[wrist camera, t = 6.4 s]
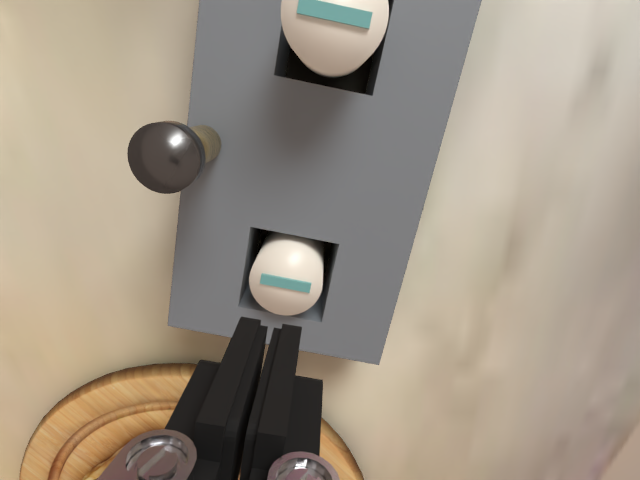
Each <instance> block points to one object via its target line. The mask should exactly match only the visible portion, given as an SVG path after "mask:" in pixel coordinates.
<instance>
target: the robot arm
mask: <svg viewBox="0 0 640 480" xmlns="http://www.w3.org/2000/svg"><path fill="white" fill-rule="evenodd" d="M267 329H268V326H262V325H261V320H259V319H253V318H247V317H240V320H239V322H238V324H237V327H236V329H235V331H234V334H233V336H232V338H231V341H230V343H229V345H228V348H227V350H226V352H225V355H224V357H223V359H222V362H221V363H218V362H212V361H206V360H200V361H199V363H198V364H197V366H196V368H195V370H194V372H193V374H192V376H191V378H190V380H189V382H188V384H187V386H186V388H185V390H184V392H183V394H182V396H181V397H180V399H179V401H178V403H177V405H176V407H175V409H174V411H173V413H172V415H171V417H170V419H169V421H168V423H167V425H166V427H165V429H161V430H152V431H149V432H145V433H142V434H140V435H139V436H137V437H135V438H133V439H132V440H131V441H129V442H128V443H127V444H126V445H125V446H124V447H123V448H122V449H121V451H120V452H119V453H118V454H117V455H116V457H115V458H114V459H113V460H112V462H111V463H110V464H109V465H108V466H107V468H106V469H105V470H104V471H103V473H102V474H101V475H100V476H99V477H98V478H97V479H95V480H238V478H239V480H340V479H339V476H338V473H337V472H336V470H335V469H334V468H333V466H332V465H331V464H330V463H329V462H327V461H326V460H325V459H324V458H322V457H320V435H321V413H322V391H323V381H322V380H319V379H313V378H307V377H301V376H295V373H296V366H297V359H298V352H299V345H300V338H301V331H302V327H300V326H294V325H288V324H282V328H281V329H280V328H274V329H273V332H272V336H271V340H270V344H269V347H268V351H267V355H266V359H265V362H264V366H263V370H262V374H261V369H262V363H263V356H264V349H265V343H266V336H267ZM260 376H261V377H260ZM240 470H241V471H240ZM239 474H240V477H239Z"/></svg>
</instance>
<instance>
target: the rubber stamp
mask: <svg viewBox="0 0 640 480" xmlns="http://www.w3.org/2000/svg"><path fill="white" fill-rule="evenodd" d="M220 150H221V139H220V137H219V135H218V133H217V132H216V131H215V130H214V129H213V128H211V127H209V126H206V125H198V126H193V127H188V126H186V125H184V124H182V123H179V122H175V121H163V122H157V123H151V124H148V125H145V126H143V127H142V128H140V129H139V130H138V131H137V132H136V133H135V134H134V135H133V137H132V138H131V140H130V143H129V147H128V162H129V165H130V168H131V170H132V172H133V174H134V176H135V177H136V178H137V179H138V181H139V182H140V183H141V184H143V185H144V186H145V187H147V188H148V189H150V190H152V191H155V192H158V193H164V194H170V193H175V192H179V191H181V190H183V189H184V188H186V187H188V186H189V185H191V184H192V183H194V182H195V181H196V180H197V179H198V178H199V177H200V175H201V174H202V172H203V170H204V167H205V163H207V162H209V161H211V160H213V159H214V158H216V157H217V156H218V154H219V152H220Z"/></svg>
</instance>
